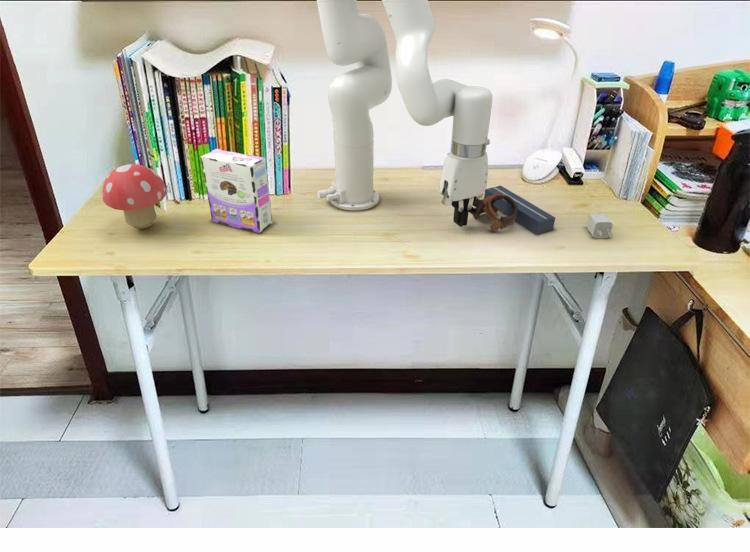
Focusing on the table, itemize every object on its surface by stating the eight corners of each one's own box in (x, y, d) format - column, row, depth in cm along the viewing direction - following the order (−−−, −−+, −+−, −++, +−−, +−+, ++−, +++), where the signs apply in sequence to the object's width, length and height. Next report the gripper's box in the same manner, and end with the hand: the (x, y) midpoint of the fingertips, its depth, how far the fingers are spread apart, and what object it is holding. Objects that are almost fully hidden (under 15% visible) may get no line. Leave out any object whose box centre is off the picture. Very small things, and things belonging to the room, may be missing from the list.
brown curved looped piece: (507, 214, 138) (521, 194, 130) (505, 245, 133) (520, 227, 126) (461, 201, 136) (473, 180, 129) (457, 232, 132) (469, 213, 124)
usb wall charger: (603, 228, 131) (607, 213, 129) (613, 243, 125) (617, 227, 123) (586, 228, 131) (589, 213, 129) (595, 243, 125) (599, 227, 123)
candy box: (273, 223, 131) (267, 157, 122) (259, 234, 127) (251, 166, 118) (226, 211, 136) (216, 146, 127) (210, 221, 132) (199, 155, 123)
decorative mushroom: (119, 216, 134) (103, 156, 125) (177, 212, 135) (165, 153, 127) (106, 244, 123) (87, 180, 114) (169, 239, 124) (155, 177, 116)
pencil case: (536, 234, 128) (539, 221, 126) (483, 200, 143) (485, 188, 141) (553, 229, 130) (555, 217, 128) (499, 196, 145) (500, 184, 143)
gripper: (485, 136, 125) (476, 210, 135) (429, 147, 119) (424, 224, 129) (507, 147, 119) (495, 223, 129) (449, 159, 113) (442, 238, 123)
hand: (460, 223), depth 129 cm, fingers closed
